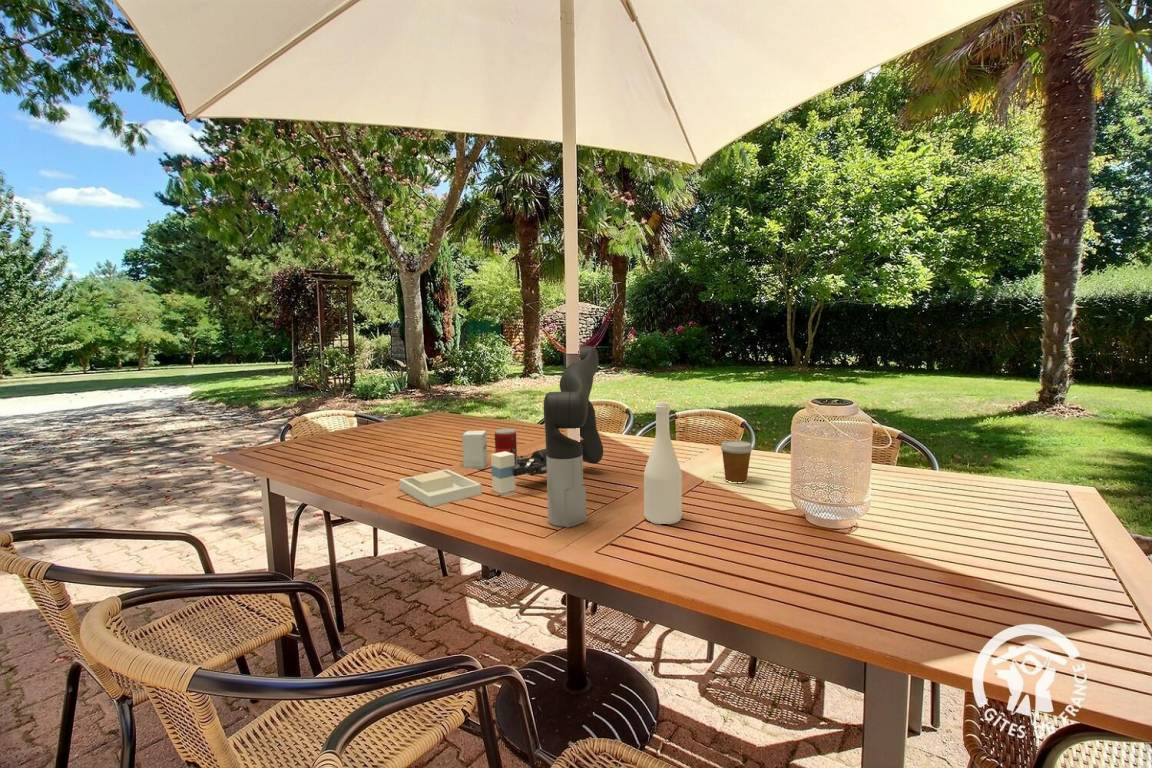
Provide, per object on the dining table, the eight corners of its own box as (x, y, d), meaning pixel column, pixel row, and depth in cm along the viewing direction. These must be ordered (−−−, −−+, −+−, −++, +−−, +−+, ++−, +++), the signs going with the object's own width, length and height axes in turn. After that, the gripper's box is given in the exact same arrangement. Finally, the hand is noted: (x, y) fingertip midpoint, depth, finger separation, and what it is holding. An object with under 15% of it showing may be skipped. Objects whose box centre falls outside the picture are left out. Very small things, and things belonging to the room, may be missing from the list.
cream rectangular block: (452, 486, 163) (452, 475, 163) (421, 493, 157) (421, 482, 156) (442, 481, 168) (442, 471, 168) (412, 488, 162) (411, 477, 162)
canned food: (515, 461, 195) (514, 432, 194) (494, 462, 195) (492, 432, 194) (518, 456, 203) (517, 428, 202) (497, 456, 203) (496, 428, 202)
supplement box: (484, 470, 185) (482, 434, 184) (463, 470, 185) (461, 434, 184) (488, 464, 192) (486, 430, 191) (467, 464, 192) (466, 430, 191)
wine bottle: (659, 509, 142) (658, 399, 139) (689, 518, 136) (689, 402, 132) (636, 519, 136) (635, 403, 132) (667, 529, 129) (667, 407, 126)
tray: (481, 497, 155) (481, 484, 155) (430, 510, 145) (429, 496, 145) (448, 481, 172) (447, 469, 172) (399, 491, 162) (399, 479, 162)
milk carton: (515, 493, 159) (514, 454, 157) (501, 497, 156) (499, 457, 154) (506, 489, 163) (505, 451, 161) (492, 493, 159) (490, 454, 158)
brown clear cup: (718, 476, 171) (718, 439, 170) (748, 476, 170) (749, 440, 169) (722, 485, 162) (722, 446, 161) (754, 485, 161) (755, 447, 159)
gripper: (536, 445, 174) (493, 453, 164) (562, 452, 163) (518, 462, 153) (536, 467, 175) (493, 477, 165) (563, 476, 164) (519, 487, 154)
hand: (505, 469), depth 159 cm, fingers open, 8 cm apart
